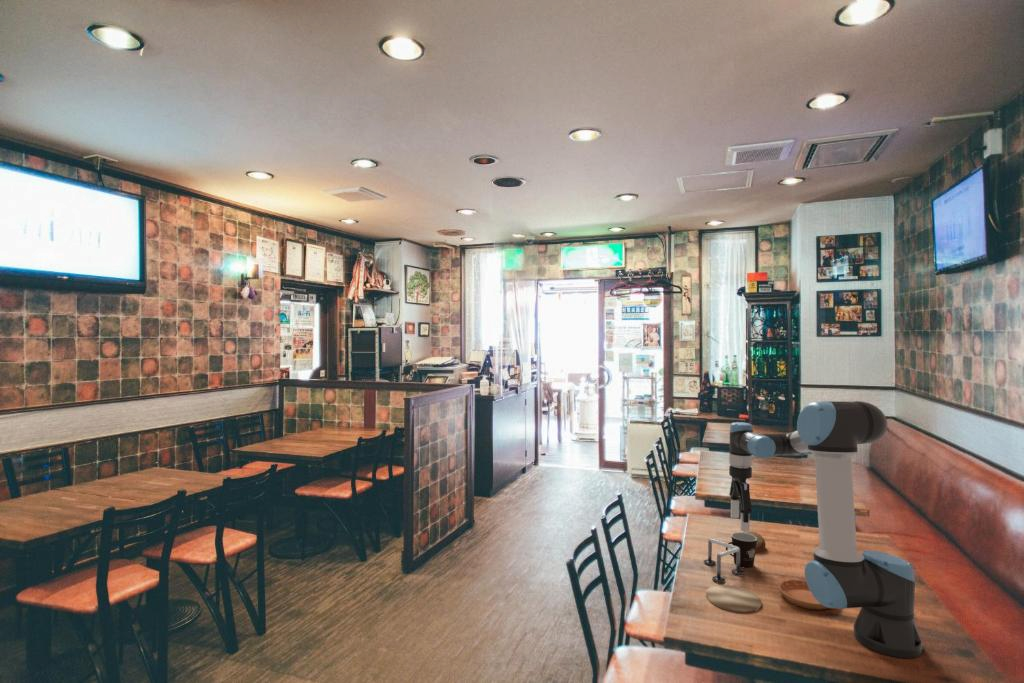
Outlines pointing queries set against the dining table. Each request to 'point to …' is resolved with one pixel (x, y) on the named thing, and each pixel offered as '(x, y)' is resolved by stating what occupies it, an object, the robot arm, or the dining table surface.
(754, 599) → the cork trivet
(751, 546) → the coffee mug
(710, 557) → the bent wire
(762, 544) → the bread roll
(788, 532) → the dining table surface
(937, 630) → the dining table surface
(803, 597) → the saucer
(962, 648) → the dining table surface
